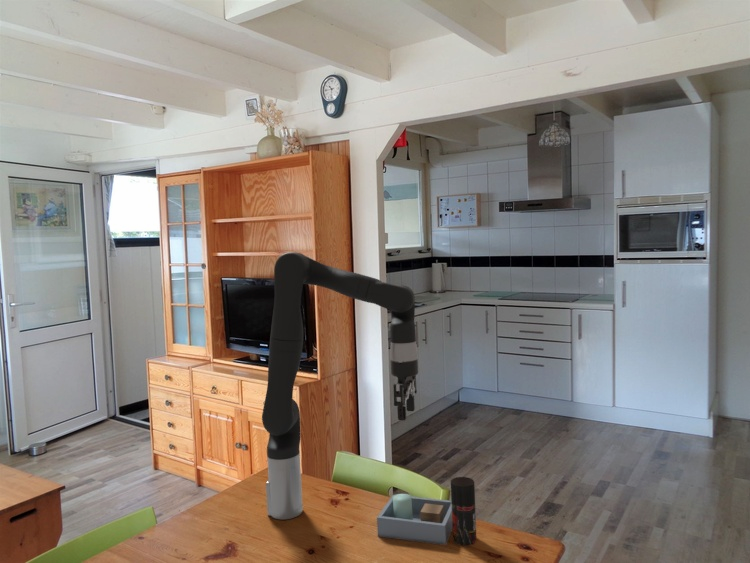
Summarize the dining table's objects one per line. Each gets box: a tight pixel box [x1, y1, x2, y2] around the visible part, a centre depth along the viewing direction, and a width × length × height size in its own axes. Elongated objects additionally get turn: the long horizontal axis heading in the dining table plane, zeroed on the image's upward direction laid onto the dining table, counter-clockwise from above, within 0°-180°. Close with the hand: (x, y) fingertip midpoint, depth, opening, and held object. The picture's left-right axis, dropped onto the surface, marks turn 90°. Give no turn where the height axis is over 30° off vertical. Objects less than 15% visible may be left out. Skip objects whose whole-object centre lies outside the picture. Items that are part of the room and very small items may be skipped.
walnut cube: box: [420, 503, 444, 523], centre depth 146 cm, size 5×5×5 cm
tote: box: [376, 494, 453, 546], centre depth 147 cm, size 18×14×5 cm
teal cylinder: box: [393, 493, 413, 520], centre depth 149 cm, size 5×5×7 cm
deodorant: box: [450, 476, 477, 547], centre depth 140 cm, size 6×6×15 cm
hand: (406, 415), depth 154 cm, fingers open, 8 cm apart
